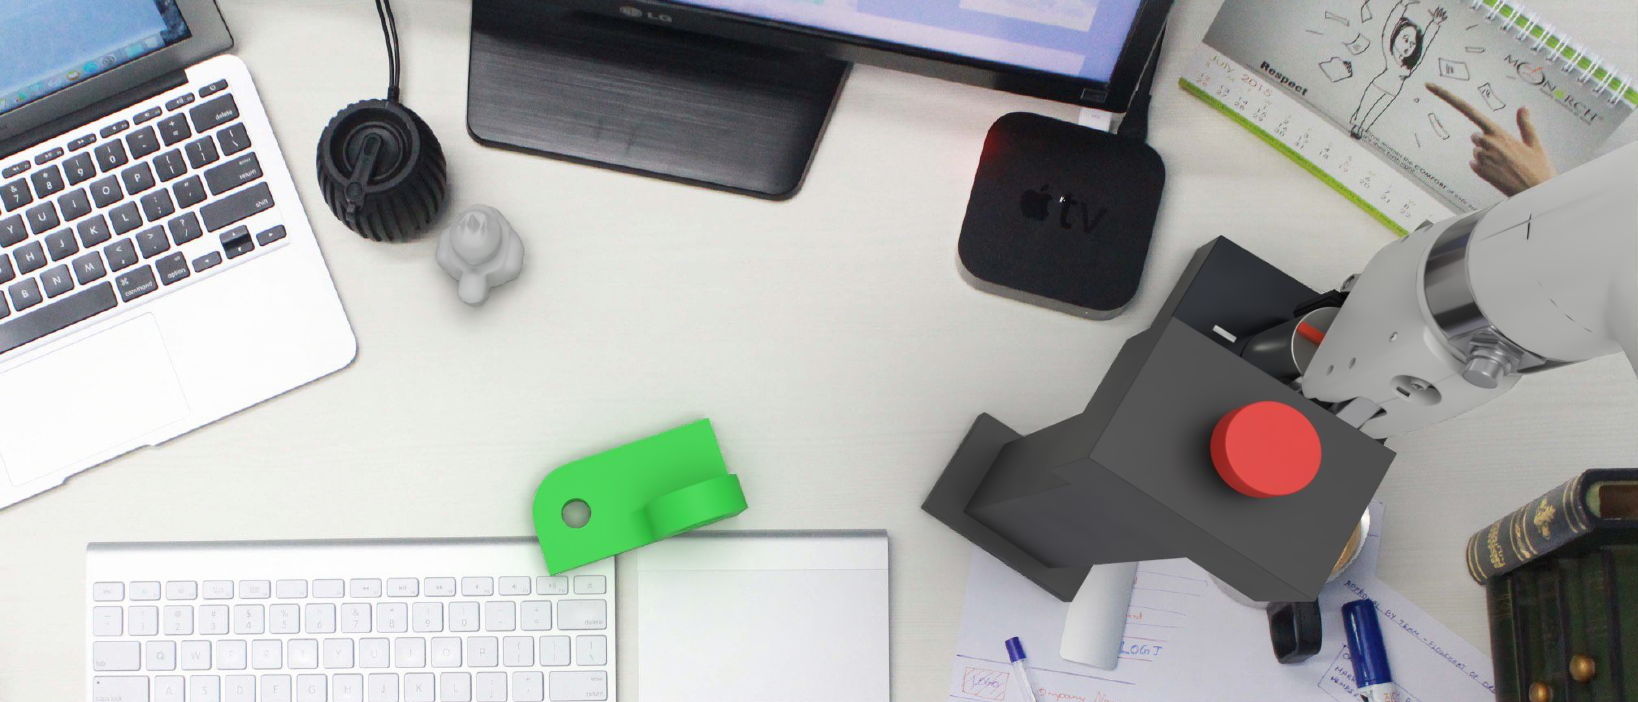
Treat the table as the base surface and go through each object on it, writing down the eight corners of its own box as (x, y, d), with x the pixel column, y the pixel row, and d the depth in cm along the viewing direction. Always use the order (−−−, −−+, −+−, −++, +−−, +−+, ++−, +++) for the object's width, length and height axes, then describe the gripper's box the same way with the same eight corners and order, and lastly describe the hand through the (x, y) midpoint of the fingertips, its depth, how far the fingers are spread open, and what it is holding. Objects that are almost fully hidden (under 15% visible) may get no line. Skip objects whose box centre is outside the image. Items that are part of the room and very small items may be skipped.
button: (1320, 439, 46) (1339, 435, 45) (1276, 516, 46) (1294, 514, 45) (1237, 388, 47) (1253, 382, 46) (1193, 463, 46) (1208, 460, 45)
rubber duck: (533, 224, 77) (524, 181, 69) (517, 322, 76) (506, 290, 68) (450, 213, 77) (432, 169, 70) (433, 311, 76) (413, 277, 68)
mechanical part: (706, 422, 74) (717, 400, 66) (738, 514, 73) (753, 503, 65) (522, 482, 74) (511, 467, 66) (551, 576, 72) (544, 572, 65)
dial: (1339, 359, 71) (1403, 337, 66) (1300, 427, 70) (1361, 412, 65) (1264, 313, 72) (1320, 288, 66) (1224, 380, 71) (1278, 361, 65)
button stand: (1121, 505, 73) (1397, 453, 47) (1064, 602, 72) (1315, 602, 46) (978, 414, 74) (1173, 315, 49) (920, 508, 73) (1087, 457, 47)
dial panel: (1398, 369, 74) (1433, 359, 71) (1316, 516, 72) (1347, 512, 69) (1197, 248, 76) (1222, 233, 73) (1112, 389, 74) (1134, 379, 71)
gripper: (1517, 496, 51) (1281, 524, 68) (1685, 178, 53) (1416, 284, 71) (1356, 398, 51) (1164, 450, 69) (1529, 90, 54) (1302, 217, 72)
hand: (1294, 365), depth 70 cm, fingers open, 5 cm apart
